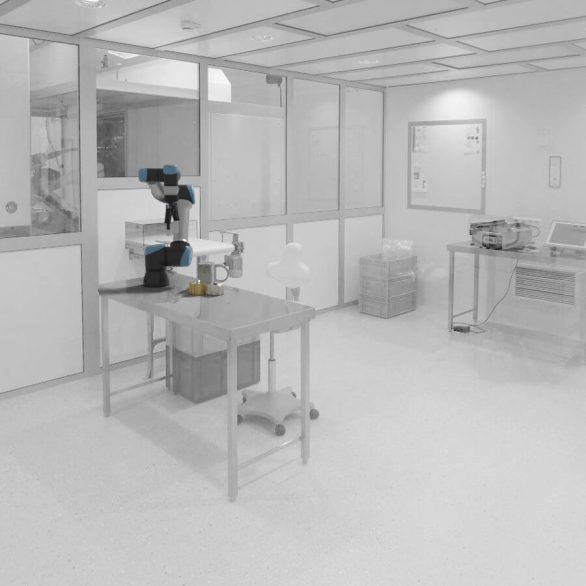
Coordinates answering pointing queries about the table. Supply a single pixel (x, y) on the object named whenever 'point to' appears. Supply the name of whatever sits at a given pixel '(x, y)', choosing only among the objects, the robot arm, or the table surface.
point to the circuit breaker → (206, 272)
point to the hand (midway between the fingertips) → (172, 234)
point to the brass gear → (197, 288)
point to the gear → (215, 289)
